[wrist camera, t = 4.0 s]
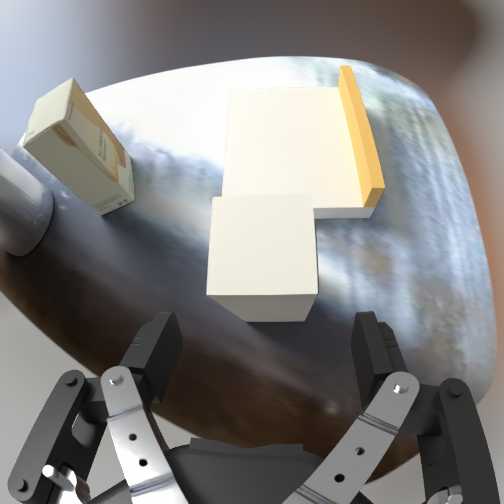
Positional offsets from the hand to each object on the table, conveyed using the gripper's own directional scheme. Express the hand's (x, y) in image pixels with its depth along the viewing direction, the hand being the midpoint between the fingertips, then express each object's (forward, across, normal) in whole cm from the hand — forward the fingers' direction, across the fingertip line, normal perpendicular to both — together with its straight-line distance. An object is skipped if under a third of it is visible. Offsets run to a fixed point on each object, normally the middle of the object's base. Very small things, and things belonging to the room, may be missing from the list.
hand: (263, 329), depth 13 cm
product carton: (+9, 0, +4) cm, 10 cm away
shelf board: (+18, -2, -5) cm, 19 cm away
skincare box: (+17, +16, -3) cm, 24 cm away
